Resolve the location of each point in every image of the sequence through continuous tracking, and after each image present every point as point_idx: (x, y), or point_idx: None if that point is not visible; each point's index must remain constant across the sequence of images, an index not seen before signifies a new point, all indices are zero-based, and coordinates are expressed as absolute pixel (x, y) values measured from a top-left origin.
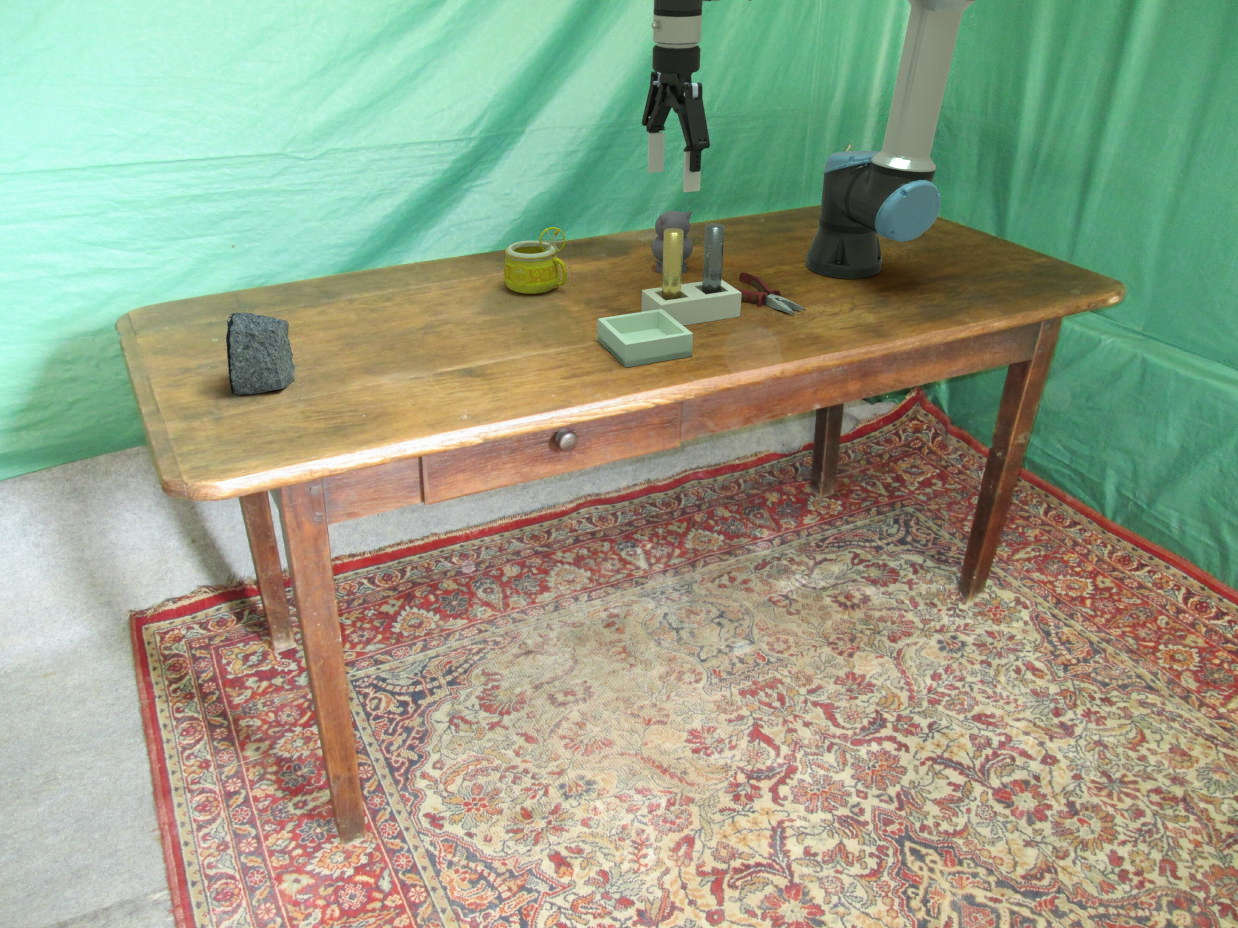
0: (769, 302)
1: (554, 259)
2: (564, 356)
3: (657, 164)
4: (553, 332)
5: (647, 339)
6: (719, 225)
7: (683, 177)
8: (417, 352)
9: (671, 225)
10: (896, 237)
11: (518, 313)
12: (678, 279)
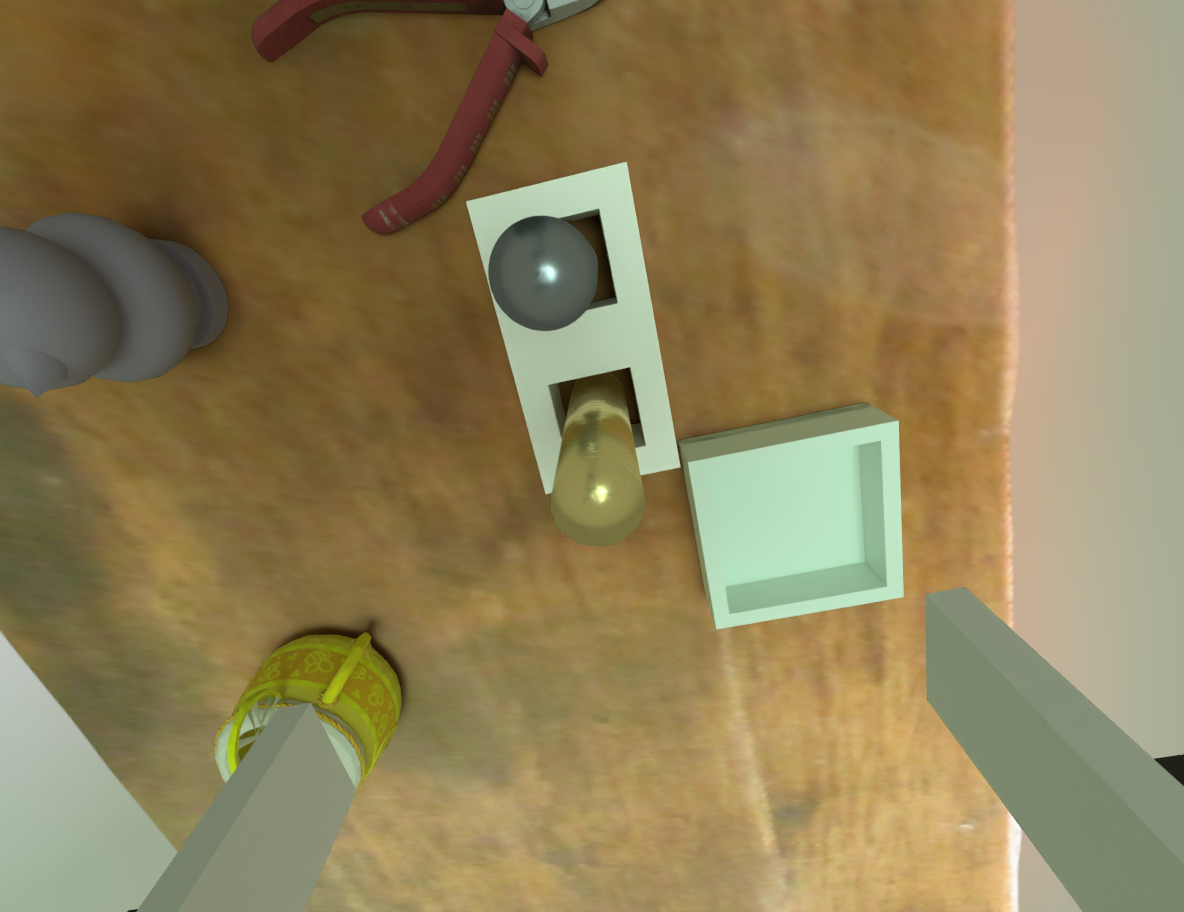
0: (544, 19)
1: (332, 702)
2: (771, 665)
3: (299, 800)
4: (634, 670)
5: (890, 543)
6: (535, 245)
7: (1001, 799)
8: (678, 874)
9: (74, 336)
10: None
11: (509, 720)
12: (627, 418)
